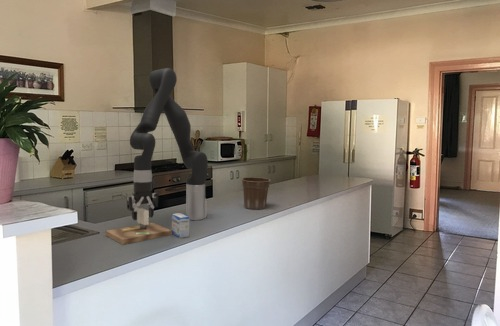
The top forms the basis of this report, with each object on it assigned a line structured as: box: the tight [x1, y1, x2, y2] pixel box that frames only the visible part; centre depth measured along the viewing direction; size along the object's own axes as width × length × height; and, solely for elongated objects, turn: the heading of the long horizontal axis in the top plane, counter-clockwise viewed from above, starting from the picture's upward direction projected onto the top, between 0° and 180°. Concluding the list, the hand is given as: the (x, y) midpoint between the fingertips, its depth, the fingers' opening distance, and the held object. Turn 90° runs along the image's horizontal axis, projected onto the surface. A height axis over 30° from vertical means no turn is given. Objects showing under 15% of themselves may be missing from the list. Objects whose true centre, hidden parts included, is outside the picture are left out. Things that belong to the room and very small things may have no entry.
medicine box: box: [171, 212, 190, 239], centre depth 177 cm, size 8×4×9 cm, turn 37°
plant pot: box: [241, 176, 272, 210], centre depth 234 cm, size 16×16×16 cm
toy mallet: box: [122, 207, 150, 232], centre depth 176 cm, size 11×6×8 cm, turn 133°
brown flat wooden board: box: [105, 222, 173, 246], centre depth 175 cm, size 22×16×2 cm
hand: (142, 218), depth 178 cm, fingers open, 7 cm apart
